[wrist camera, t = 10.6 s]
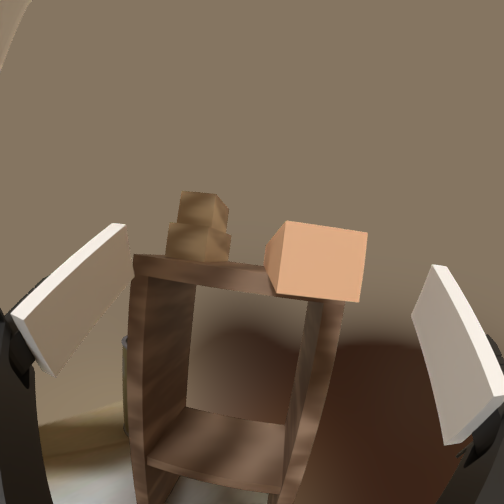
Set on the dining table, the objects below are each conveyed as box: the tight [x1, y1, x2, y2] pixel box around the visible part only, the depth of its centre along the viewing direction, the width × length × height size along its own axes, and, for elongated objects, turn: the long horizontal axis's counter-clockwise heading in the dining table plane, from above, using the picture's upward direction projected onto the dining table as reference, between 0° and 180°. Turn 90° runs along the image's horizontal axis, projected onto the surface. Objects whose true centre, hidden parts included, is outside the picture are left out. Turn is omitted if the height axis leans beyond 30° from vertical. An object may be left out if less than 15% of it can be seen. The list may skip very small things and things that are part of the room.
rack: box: [127, 191, 345, 504], centre depth 28 cm, size 16×14×38 cm
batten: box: [264, 221, 368, 302], centre depth 24 cm, size 28×3×2 cm, turn 179°
